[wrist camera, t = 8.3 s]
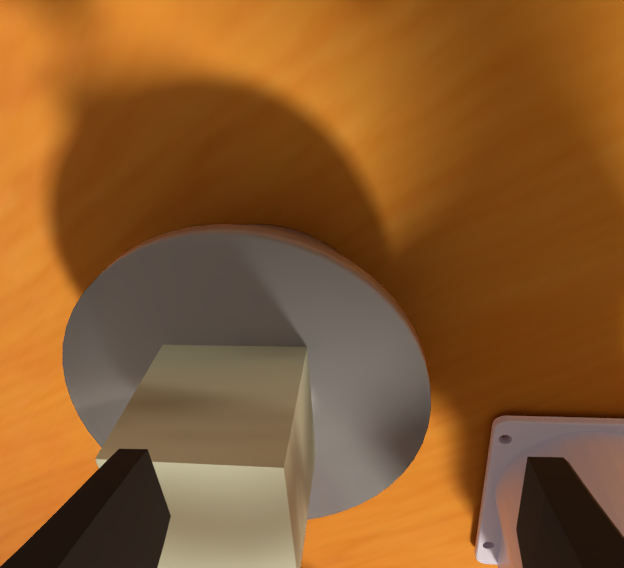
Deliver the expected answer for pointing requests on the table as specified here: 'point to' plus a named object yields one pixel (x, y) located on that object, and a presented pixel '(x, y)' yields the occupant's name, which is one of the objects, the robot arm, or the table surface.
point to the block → (226, 452)
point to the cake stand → (261, 342)
